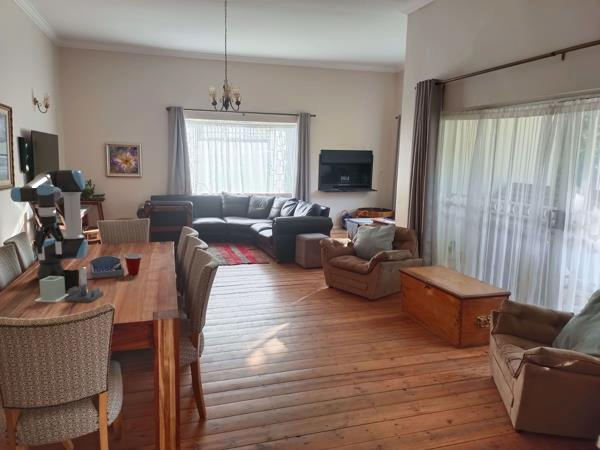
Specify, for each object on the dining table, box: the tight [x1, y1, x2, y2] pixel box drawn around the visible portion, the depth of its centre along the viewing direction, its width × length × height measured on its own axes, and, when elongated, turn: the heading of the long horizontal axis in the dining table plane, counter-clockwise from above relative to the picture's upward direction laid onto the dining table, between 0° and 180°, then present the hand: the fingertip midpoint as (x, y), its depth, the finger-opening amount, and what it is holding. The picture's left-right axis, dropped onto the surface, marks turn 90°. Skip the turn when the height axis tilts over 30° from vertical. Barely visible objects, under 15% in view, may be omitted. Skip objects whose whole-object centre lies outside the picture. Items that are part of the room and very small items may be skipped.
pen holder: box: [60, 269, 80, 291], centre depth 244 cm, size 9×9×10 cm
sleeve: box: [38, 276, 66, 300], centre depth 226 cm, size 8×8×10 cm
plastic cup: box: [123, 253, 143, 276], centre depth 276 cm, size 11×11×12 cm
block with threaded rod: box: [63, 266, 104, 303], centre depth 227 cm, size 14×12×16 cm
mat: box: [34, 293, 68, 304], centre depth 226 cm, size 12×12×1 cm
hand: (50, 256), depth 223 cm, fingers open, 13 cm apart
